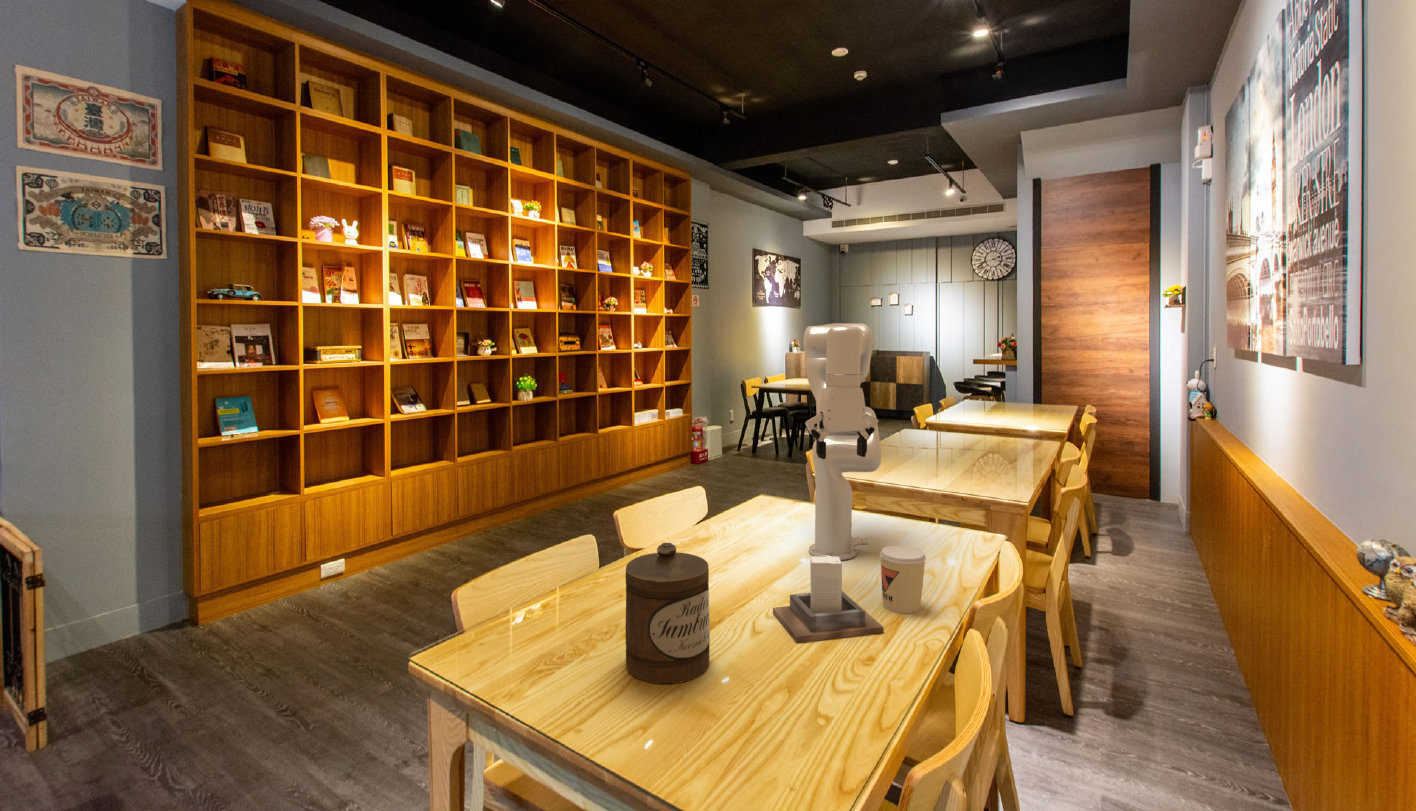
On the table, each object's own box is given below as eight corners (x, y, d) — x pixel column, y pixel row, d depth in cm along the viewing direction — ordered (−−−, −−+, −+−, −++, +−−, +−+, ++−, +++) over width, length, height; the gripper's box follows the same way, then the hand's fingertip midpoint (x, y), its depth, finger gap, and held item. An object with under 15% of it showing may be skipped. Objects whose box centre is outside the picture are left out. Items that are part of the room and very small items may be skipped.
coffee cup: (872, 598, 149) (874, 545, 148) (914, 596, 150) (915, 544, 148) (887, 615, 140) (889, 559, 138) (931, 614, 140) (933, 558, 139)
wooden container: (668, 694, 110) (666, 563, 107) (608, 665, 119) (606, 544, 117) (726, 661, 121) (726, 542, 118) (668, 637, 130) (666, 526, 128)
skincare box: (839, 612, 138) (840, 556, 137) (841, 621, 134) (842, 563, 133) (809, 611, 139) (810, 555, 137) (810, 620, 135) (811, 562, 133)
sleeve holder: (852, 604, 145) (852, 586, 145) (883, 632, 132) (883, 612, 131) (772, 613, 141) (772, 593, 141) (796, 642, 128) (796, 621, 127)
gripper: (870, 380, 157) (868, 452, 159) (800, 381, 153) (799, 455, 155) (886, 382, 150) (884, 458, 151) (813, 384, 146) (812, 461, 148)
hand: (841, 457), depth 153 cm, fingers open, 9 cm apart
